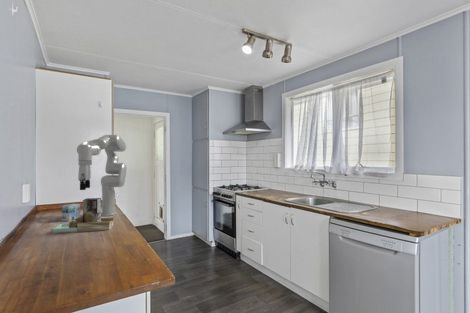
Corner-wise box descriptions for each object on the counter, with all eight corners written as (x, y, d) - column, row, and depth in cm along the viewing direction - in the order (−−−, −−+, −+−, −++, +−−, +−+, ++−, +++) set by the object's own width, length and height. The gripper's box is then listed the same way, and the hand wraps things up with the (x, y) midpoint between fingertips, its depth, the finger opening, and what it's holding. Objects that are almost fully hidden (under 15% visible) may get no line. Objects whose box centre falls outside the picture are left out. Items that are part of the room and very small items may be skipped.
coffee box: (101, 222, 164) (101, 197, 165) (97, 224, 158) (97, 199, 158) (86, 222, 163) (87, 198, 163) (82, 225, 157) (82, 199, 157)
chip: (78, 227, 161) (72, 227, 161) (79, 220, 161) (72, 221, 161) (75, 228, 157) (68, 228, 157) (75, 222, 157) (69, 222, 157)
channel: (84, 226, 165) (84, 218, 165) (113, 224, 170) (113, 217, 170) (77, 231, 153) (77, 223, 153) (109, 229, 157) (109, 221, 157)
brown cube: (79, 223, 161) (79, 217, 161) (85, 223, 161) (85, 217, 161) (75, 225, 157) (75, 218, 157) (82, 224, 157) (82, 218, 157)
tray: (60, 227, 162) (60, 223, 162) (84, 226, 166) (84, 222, 166) (51, 233, 149) (51, 229, 149) (76, 231, 152) (76, 227, 153)
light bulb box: (69, 221, 178) (69, 206, 179) (60, 220, 179) (61, 205, 180) (80, 217, 189) (80, 203, 189) (72, 217, 190) (72, 203, 190)
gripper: (82, 162, 172) (82, 187, 172) (74, 163, 155) (74, 191, 155) (94, 162, 174) (94, 187, 174) (87, 163, 157) (87, 190, 157)
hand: (85, 188), depth 165 cm, fingers open, 9 cm apart
